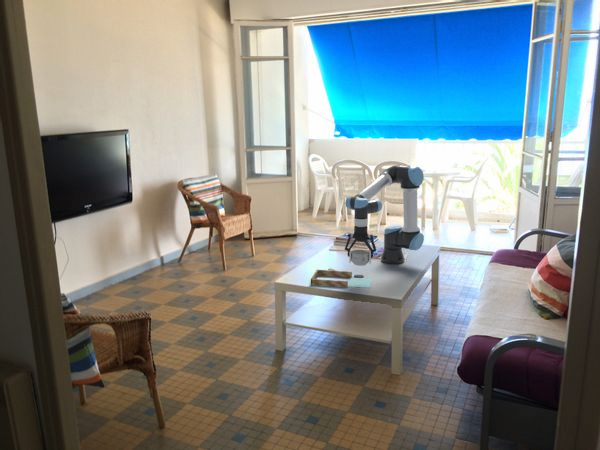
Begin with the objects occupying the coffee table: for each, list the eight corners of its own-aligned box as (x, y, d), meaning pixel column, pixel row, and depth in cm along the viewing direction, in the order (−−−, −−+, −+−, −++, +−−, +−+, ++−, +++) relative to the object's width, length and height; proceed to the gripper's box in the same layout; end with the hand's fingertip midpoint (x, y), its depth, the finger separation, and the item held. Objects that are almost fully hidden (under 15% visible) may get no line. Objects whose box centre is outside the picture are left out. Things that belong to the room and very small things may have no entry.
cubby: (351, 277, 318) (351, 271, 317) (347, 287, 300) (347, 281, 299) (316, 275, 323) (316, 269, 322) (310, 285, 305) (310, 279, 304)
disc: (364, 275, 321) (364, 275, 321) (363, 278, 316) (363, 278, 316) (354, 274, 323) (354, 274, 323) (353, 277, 317) (353, 277, 317)
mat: (372, 279, 314) (372, 278, 314) (369, 288, 299) (369, 287, 299) (350, 277, 317) (350, 277, 317) (347, 286, 302) (347, 286, 302)
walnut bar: (343, 275, 323) (343, 273, 322) (340, 276, 321) (340, 273, 321) (330, 270, 332) (330, 268, 332) (328, 271, 331) (328, 269, 331)
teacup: (349, 262, 312) (349, 249, 310) (367, 261, 312) (367, 248, 311) (354, 269, 298) (354, 255, 296) (372, 268, 299) (373, 254, 297)
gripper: (381, 224, 301) (380, 261, 306) (341, 223, 306) (341, 259, 311) (380, 227, 294) (379, 265, 299) (339, 226, 299) (339, 263, 304)
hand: (360, 262), depth 305 cm, fingers closed on teacup, 11 cm apart
